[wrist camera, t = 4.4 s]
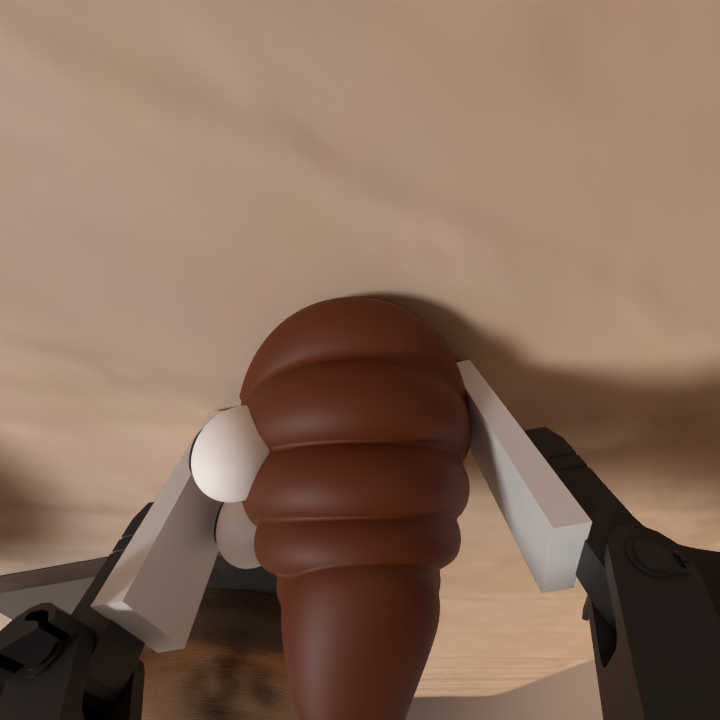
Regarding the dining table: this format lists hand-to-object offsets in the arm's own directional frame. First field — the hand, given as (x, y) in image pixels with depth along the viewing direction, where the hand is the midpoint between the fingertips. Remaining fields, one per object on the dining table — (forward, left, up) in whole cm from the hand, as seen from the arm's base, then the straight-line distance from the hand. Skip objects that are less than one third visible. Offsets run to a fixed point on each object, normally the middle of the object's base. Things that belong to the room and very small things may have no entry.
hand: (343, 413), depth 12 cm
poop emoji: (0, 0, -1) cm, 1 cm away
